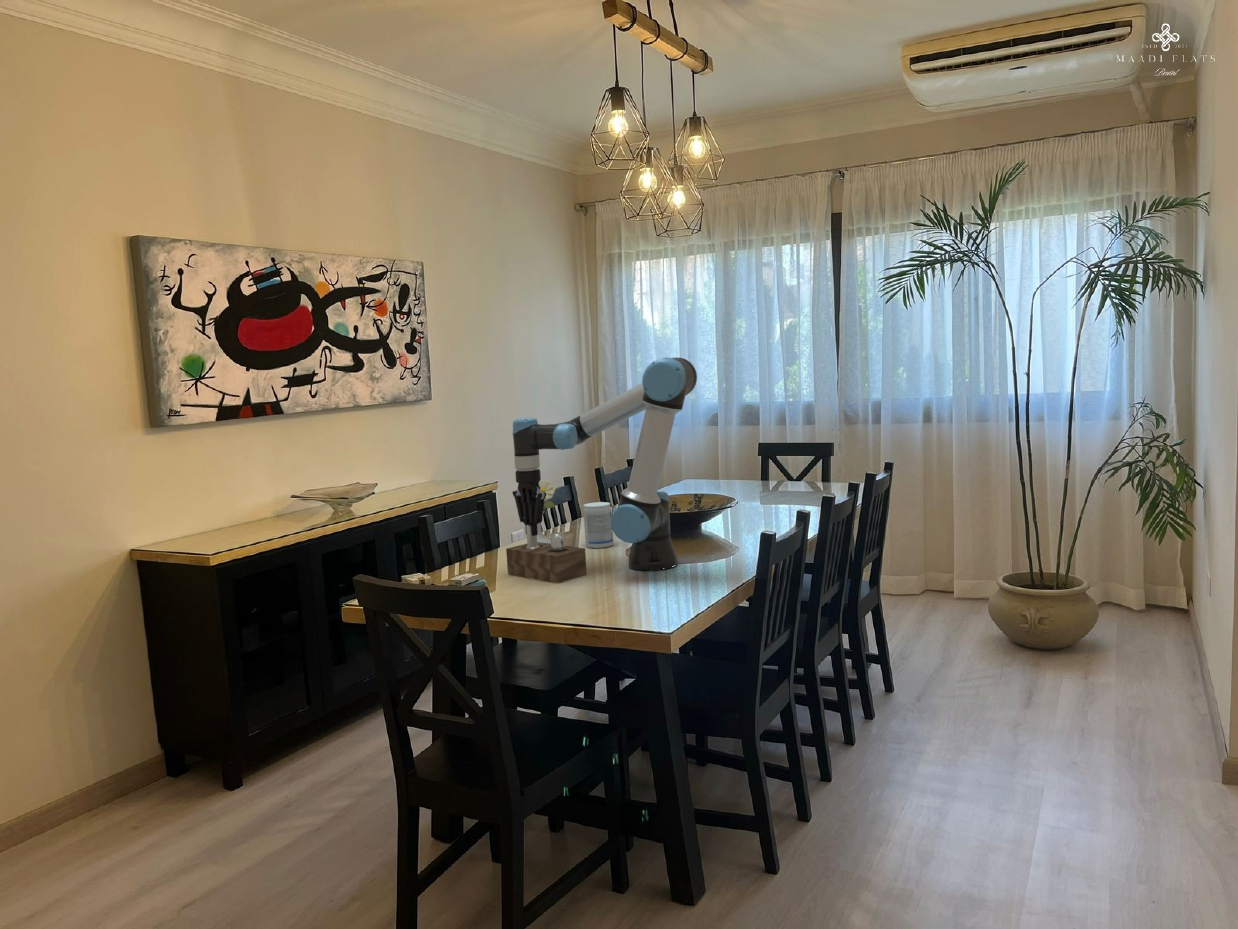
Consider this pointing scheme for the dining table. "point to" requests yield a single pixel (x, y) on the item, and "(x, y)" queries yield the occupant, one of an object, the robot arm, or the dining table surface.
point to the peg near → (557, 542)
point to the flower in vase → (549, 490)
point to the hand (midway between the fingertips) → (532, 545)
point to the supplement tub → (598, 525)
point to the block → (546, 562)
